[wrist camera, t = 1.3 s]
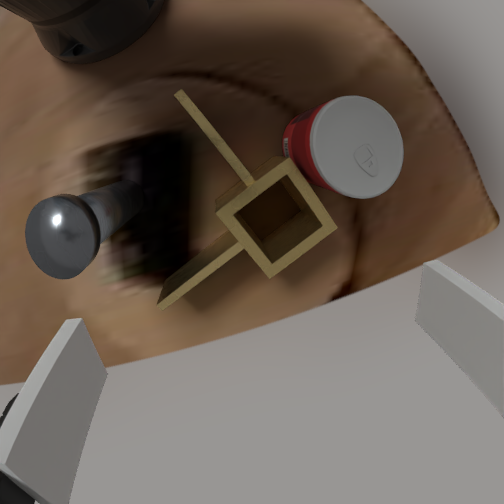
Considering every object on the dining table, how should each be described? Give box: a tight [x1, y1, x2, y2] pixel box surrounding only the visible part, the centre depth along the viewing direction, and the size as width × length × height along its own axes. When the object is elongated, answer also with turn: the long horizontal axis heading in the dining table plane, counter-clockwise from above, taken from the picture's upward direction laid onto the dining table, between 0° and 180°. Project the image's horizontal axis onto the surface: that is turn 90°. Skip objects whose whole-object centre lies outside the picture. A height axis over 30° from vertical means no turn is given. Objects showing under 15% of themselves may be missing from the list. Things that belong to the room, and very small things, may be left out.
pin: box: [25, 180, 144, 279], centre depth 22 cm, size 5×5×16 cm
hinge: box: [157, 89, 337, 311], centre depth 27 cm, size 18×18×7 cm
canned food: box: [282, 96, 404, 199], centre depth 25 cm, size 8×8×11 cm
